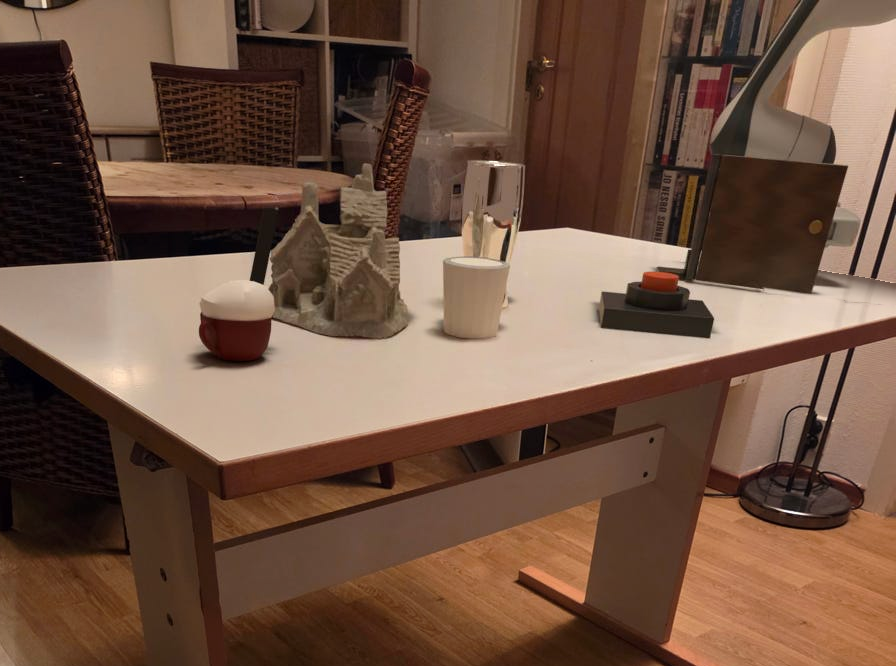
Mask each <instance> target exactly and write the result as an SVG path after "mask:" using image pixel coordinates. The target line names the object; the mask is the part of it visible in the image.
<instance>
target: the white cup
mask: <svg viewBox="0 0 896 666" xmlns="http://www.w3.org/2000/svg"><path fill="white" fill-rule="evenodd" d="M510 268H511V264H508V263H506V262H503V261H500V260H496V259H490V258H483V257H469V256H463V255H462V256H451V257H446V258H443V260H442V280H443V281H442V285H443V289H442V292H443V293H442V294H443V296H442V297H443V332H445V334H447V335H449V336H453V337H456V338H462V339H489V338H493V337H496V336H497V334H498V330H499V325H500V319H501V315H502V310H503V309H502V305H503V300H504V295H505V289H506V284H507V285H508V278H509V275H510Z"/></svg>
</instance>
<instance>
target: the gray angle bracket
mask: <svg viewBox="0 0 896 666" xmlns="http://www.w3.org/2000/svg"><path fill="white" fill-rule="evenodd" d="M690 254H691V249H687V253H686V258H685V263H684V267H683V268H677V267H669V266H668V267H666V266H656V270H655V272H665V273H671V274H675V275H678V276H679V280H678V281H687V282H692V281H693V280H688V279H685V277H686V272H687V268H688V263H689V258H690Z"/></svg>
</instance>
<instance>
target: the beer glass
mask: <svg viewBox="0 0 896 666" xmlns="http://www.w3.org/2000/svg"><path fill="white" fill-rule="evenodd" d="M525 173H526V165H525V164H524V163H518V162H510V161H500V160H483V159H471V160H469V159H468V160H466V167H465V175H464V180H463V187H462V195H461V196H462V197H461V210H460V225H461V228H460V229H461V241H462V242H461V243H462V253H463V255H462V257H463V256H469V257H483V258H490V259H496V260H500V261H503V262H506V263H508V264H510V263H511V259H512V256H513V252H514V248H515V245H516V241H517V239H518V238H517V237H518V234H519V229H520V226H521V220H522V215H523V214H522V213H523V207H524V195H525V175H526V174H525ZM510 265H511V264H510ZM508 306H509V298H508V283H507V284H506V289H505V295H504V300H503V305H502V310H503V309H506V308H507V307H508Z"/></svg>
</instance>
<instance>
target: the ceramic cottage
mask: <svg viewBox="0 0 896 666" xmlns="http://www.w3.org/2000/svg"><path fill="white" fill-rule="evenodd" d="M374 186H375V185H374V174H373V166H372V164H370V163H363V164H362V167H361V173H360V174H356V175H355V177H354V179H353V181H352V185H351V187H346V186H340V189H339V210H340V211H339V221H340V224H326V223H322V222H321V221H320V217H319V192H318V191H319V185H317V183H316V182H308V181H305V182H304V183H302V185H301V187H302V188H301V189H302V190H301V203H300V205H301V206H300V212H299V215H297V216H296V218H294V222H293V224H292V226H291V228H290V229H289V230H288V231H287V233H285V234H284V237H282V240H280V241H279V242H278V243H277V244H276V246H274V248H273V249H271V251H270V256H269V261H270V263H271V267H270V270H271V272H272V273H271V275H270V277H271V279H272V280H271V283H270V284H269V286H268V288H267V289H268V290H269V291H270V292H271V294H272V295H273V297H274V306H275V311H274V313H273V315H272V318H273V319H277V320H279V321H281V322H283V323H284V322H285V323H288V324H291V325H296V326H298V327H301V328H303V329H305V330H308V331H309V330H310V332H313V333H316V334H321V335H327V336H331V337H337V336H339V337H340V336H341V337H347V338H348V337H349V336H351V338H353V337H354V336H358V337H363V338H366V337H367V338H372V339H373V338H374V339H376V338H377V339H380V340H381V339H382V338H384V339H386V338H390V337H391V336H395V334H397V333H398V332H399V333H400V332H401V330H402V329H404V328H406V327H407V326H408V324H409V316H408V313H409V311H408V309H409V308H408V304H406V303H405V301H404V299H403V298H401V291H400V283H401V259H400V252H401V246H400V237H391V238H386V235H385V232H386V230H387V227H388V225H387V220H388V203H387V195H388V194H387V191H386V190H381V191H380V190H379V191H377V190H375V187H374Z"/></svg>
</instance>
